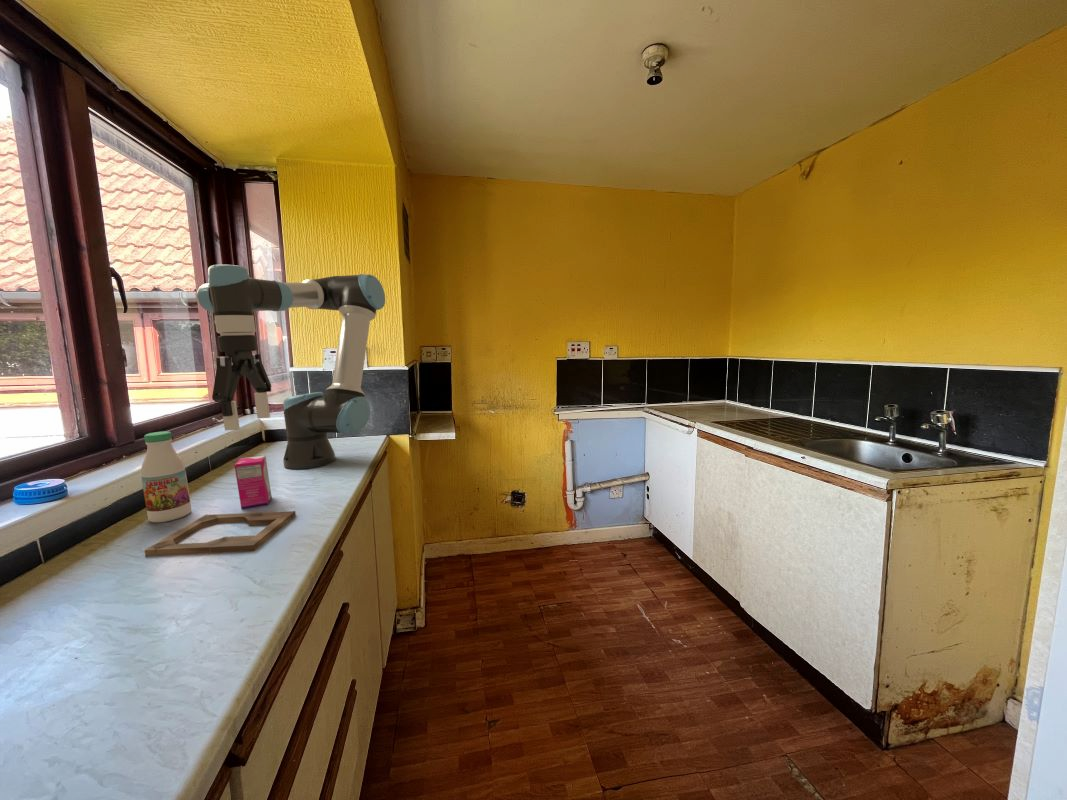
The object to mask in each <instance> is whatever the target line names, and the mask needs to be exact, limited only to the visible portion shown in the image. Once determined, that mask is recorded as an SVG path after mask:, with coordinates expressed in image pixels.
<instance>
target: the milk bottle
mask: <svg viewBox="0 0 1067 800" xmlns="http://www.w3.org/2000/svg"><path fill="white" fill-rule="evenodd" d="M143 438H144V442H145V445H146V448H147V449H146V453H145V456H144V459H143V461H142V464H141V468H140V470H141V471H140V475H141V485H142V491H143V496H144V497H143V498H144V502H145V509H146V514H147V519H148V521H149V522H150V523H165V522H169V521H170V522H171V521H174V520H178V519H181V518H183V517H186V516H187V515H190V514H191V512H192V504H191V496H190V490H189V484H188V478H187V477H188V476H187V472H186V467H185V463H184V461H183V459H182V457H181V456H180V455H179V454H178V452H177V451H176V450H175V448H174V446H173V444H172V442H173V439H172V438H173V437H172V432H171V431H155V432H149V433H146V434H144V436H143Z"/></svg>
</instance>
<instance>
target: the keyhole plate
mask: <svg viewBox="0 0 1067 800" xmlns="http://www.w3.org/2000/svg"><path fill="white" fill-rule="evenodd" d="M296 516H297V514H296V510H292V511H289V510H288V511H264V512H260V511H259V512H240V513H239V512H238V513H222V514H221V513H219V514H218V513H216V514H215V513H214V514H205V515H202V516H200V517H199V518H197V519H196V520H194V521H192V522H191V523H189V524H187V525H185V526H184V527H182V528H180V529H179V530H176V531H175V532H173V533H172V534H170V535H168V536H166V537H164V538H163V539H161V540H160V541H158V542H156V543H154V544H152V545H151V546H149V547H147V548H146V549H144V555H145V557H149V556H150V557H153V556H154V557H157V556H174V555H175V556H176V555H177V556H178V555H192V554H193V555H198V554H215V553H216V554H218V553H236V552H239V553H240V552H254V551H256V550H257V549H258V548H260V546H262V545H263V544H264V543H265V542H267V541H268V540H269V539H270V538H271V537H272V536H274V535H275V534H276V533H277V532H279V531H280V530H281V529H282V528H284V526H286V525H287V524H288V523H289V522H290V521H291V520H293V519H294V518H296ZM242 522H243V523H246V524H247V525H248V526H249V527H251V526H265V527H264V528H263V529H262V530H260V531H259V532H258V533H257V534H254V535H237V536H236V535H234V536H224V537H219V538H217V539H213V540H210V541H207V542H190V543H187V542H186V543H179V542H181V541H183V540H184V539H186V538H187V537H189V536H191V535H193V534H194V533H196V532H197V531H199V530H200V529H202V528H205V527H208V526H212V525H216V524H218V523H219V524H222V523H225V524H226V523H242Z"/></svg>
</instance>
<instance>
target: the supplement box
mask: <svg viewBox="0 0 1067 800" xmlns="http://www.w3.org/2000/svg"><path fill="white" fill-rule="evenodd" d="M234 471H235V477H236V484H237V488H238V489H237V491H238V496H239V502H240V508H241V510H243V509H244V510H245V509H250V508H252V509H253V508H259V507H266V506H268V505H269V504H270V502H271V500H272V498H273V497H272V491H271V483H270V477H269V471H268V463H267V455H258V456H251V457H250V456H249V457H242V458H239V459H238V460H237V461H236V462H235V464H234Z"/></svg>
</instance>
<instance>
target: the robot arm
mask: <svg viewBox="0 0 1067 800" xmlns="http://www.w3.org/2000/svg"><path fill="white" fill-rule="evenodd" d="M207 271H208V273H207V275H208V276H207V278H208V283H203V284H202V285H200V286H199V287H198V289H197V291H196V298H197V302H198V304H199V306H200V307H202V309H204V311H207V312H209V313H213V316H214V324H215V330H216V333H218V334H219V335H218V336H217V337H216V339H217V347H218V351H220V353H224V354H225V356H216V357H215V358H216V359H215V361H216V371H215V377H214V384H213V388H212V389H213V390H212V396H211V399H212V401H214V402H215V403H220V406H221V413H222V419H223V427H224V431H238V430H240V429H241V427H240V421H239V414H238V409H237V408H238V407H237V401H236V400H234V397H235V393H236V391H237V389H238V385H239V381H240V378H241V377H243V376H245V377H246V378H247V380H248V381H249V383H250V384H251V386H252V388H253V389H254V390H255V392H254V393H253V397H254V402H255V410H256V418H257V419H268V418H271V413H270V408H269V406H270V405H269V399H268V393H270V392H272V384H271V381H270V380H269V376H268V374H267V372H266V369H265V366H264V365H263V364H264V363H263V361H262V357H261V354H260V353H253V352H256V351H258V349H259V347H258V339H257V336H256V335H254V333H256V332H257V330H256V324H255V323H256V322H255V317H254V312H260V311H261V312H263V311H267V312H269V311H272V312H284V311H287V310H289V309H291V308H307V309H309V310H326V311H327V310H328V311H338V312H339V313H340V315H341V316H342V318H341V325H340V331H339V337H338V338H339V339H338V344H337V351H336V357H335V363H334V369H333V378H332V383H331V385H330V386H328V387H327V388H325V391H324V392H325V393H323V392H322V391H315V392H309V393H304V394H297V395H293V396H292V395H291V396H287V397H286V398H285V399H284V400H283V410H282V411H283V417H284V424H285V430H286V431H285V433H286V440H287V443H286V444H287V445H286V447H285V452H284V456H283V461H282V462H283V467H284V468H285V469H290V470H304V469H311V468H317V467H322V466H326V465H329V464H331V463H333V462H335V461H336V454H335V451H334V449H333V446H332V444H331V442H330V441H329V439H328V434H330V433H331V434H336V433H337V434H342V435H347V434H356V433H359V432H361V431H362V430H363V429H364V428H365V427H366V425H367V424H368V422H369V419H370V416H371V407H370V402H369V401H368V399H366V398H365V394H366V393H364V391H363V389H362V381H363V373H364V367H365V366H364V365H365V359H366V354H367V353H366V352H367V351H366V350H367V345H368V339H369V330H370V325H371V321H373V320H374V319H376V315H377V311H379V310H382V309H383V308H384V306H385V304H386V293H385V290H384V287H383V285H382V283H381V282H380V280H379V279H378V278H377V276H375V275H373V274H363V273H360V274H351V275H349V274H348V275H333V276H326V277H322V278H316V279H315V278H314V279H313V278H312V279H305V280H302V282H280V281H276V280H268V279H261V278H260V279H259V278H253V277H250V275H249V273H248V269H247V268H245V267H243V266H241V265H235V264H213V265H210V266H209V267H208V269H207Z"/></svg>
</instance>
